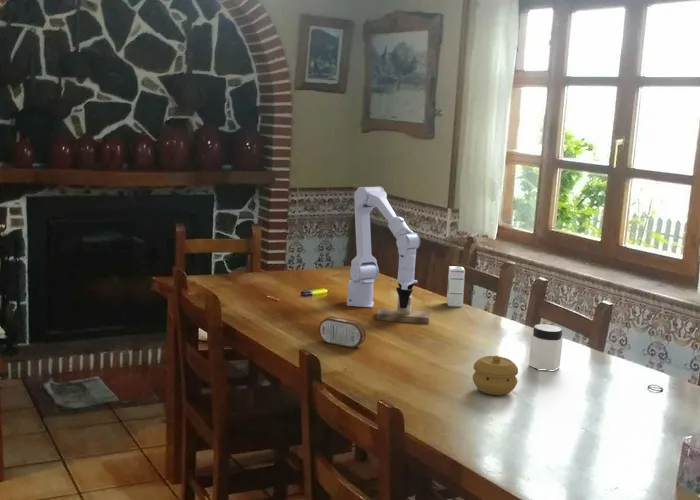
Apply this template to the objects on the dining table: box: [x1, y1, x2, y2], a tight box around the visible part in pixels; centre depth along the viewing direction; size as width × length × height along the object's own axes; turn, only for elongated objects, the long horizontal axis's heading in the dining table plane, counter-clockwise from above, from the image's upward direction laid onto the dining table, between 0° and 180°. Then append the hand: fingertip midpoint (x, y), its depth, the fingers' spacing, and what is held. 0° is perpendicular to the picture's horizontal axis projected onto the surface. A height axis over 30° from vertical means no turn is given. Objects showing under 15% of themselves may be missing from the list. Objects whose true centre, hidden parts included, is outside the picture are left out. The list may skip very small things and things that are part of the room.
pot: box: [472, 355, 519, 396], centre depth 214 cm, size 12×12×10 cm
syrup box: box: [446, 265, 466, 308], centre depth 307 cm, size 6×6×14 cm
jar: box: [528, 323, 564, 370], centre depth 237 cm, size 9×8×12 cm
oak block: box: [396, 295, 413, 315], centre depth 283 cm, size 4×4×6 cm
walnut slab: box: [376, 307, 430, 325], centre depth 284 cm, size 18×9×2 cm, turn 83°
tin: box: [318, 315, 367, 349], centre depth 248 cm, size 15×3×8 cm, turn 65°
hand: (404, 305), depth 283 cm, fingers open, 7 cm apart
